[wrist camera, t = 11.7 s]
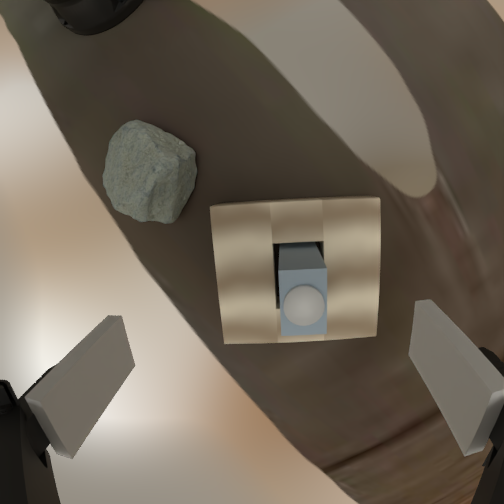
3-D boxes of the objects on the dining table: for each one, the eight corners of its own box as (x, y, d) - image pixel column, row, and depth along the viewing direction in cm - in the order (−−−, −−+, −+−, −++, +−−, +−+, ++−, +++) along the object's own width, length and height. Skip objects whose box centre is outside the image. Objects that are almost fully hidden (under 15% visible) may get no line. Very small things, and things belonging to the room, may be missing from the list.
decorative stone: (229, 195, 37) (204, 136, 29) (158, 257, 36) (111, 212, 27) (172, 145, 43) (144, 93, 34) (112, 195, 41) (72, 151, 32)
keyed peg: (282, 290, 40) (281, 340, 27) (279, 241, 38) (278, 273, 26) (314, 288, 39) (327, 337, 27) (313, 240, 38) (328, 271, 25)
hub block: (217, 203, 38) (209, 206, 34) (370, 195, 36) (380, 197, 32) (229, 328, 41) (224, 343, 38) (368, 321, 40) (376, 336, 36)
